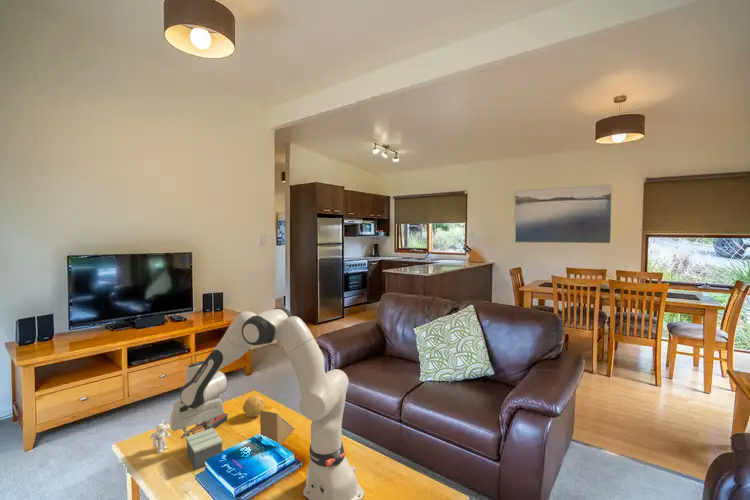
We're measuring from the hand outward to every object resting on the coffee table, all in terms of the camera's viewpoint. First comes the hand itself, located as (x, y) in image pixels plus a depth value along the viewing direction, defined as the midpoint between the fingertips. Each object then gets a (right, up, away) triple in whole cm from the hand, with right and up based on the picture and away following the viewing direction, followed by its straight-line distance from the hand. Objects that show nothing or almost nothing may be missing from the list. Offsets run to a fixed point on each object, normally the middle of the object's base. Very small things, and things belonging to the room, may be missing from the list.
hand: (198, 432), depth 147 cm
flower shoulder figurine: (-15, -7, -1) cm, 16 cm away
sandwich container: (+32, -7, +9) cm, 34 cm away
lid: (+4, -1, -5) cm, 6 cm away
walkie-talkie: (-4, -7, +16) cm, 18 cm away
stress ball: (+14, -6, +26) cm, 31 cm away
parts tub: (+5, -7, -6) cm, 11 cm away
